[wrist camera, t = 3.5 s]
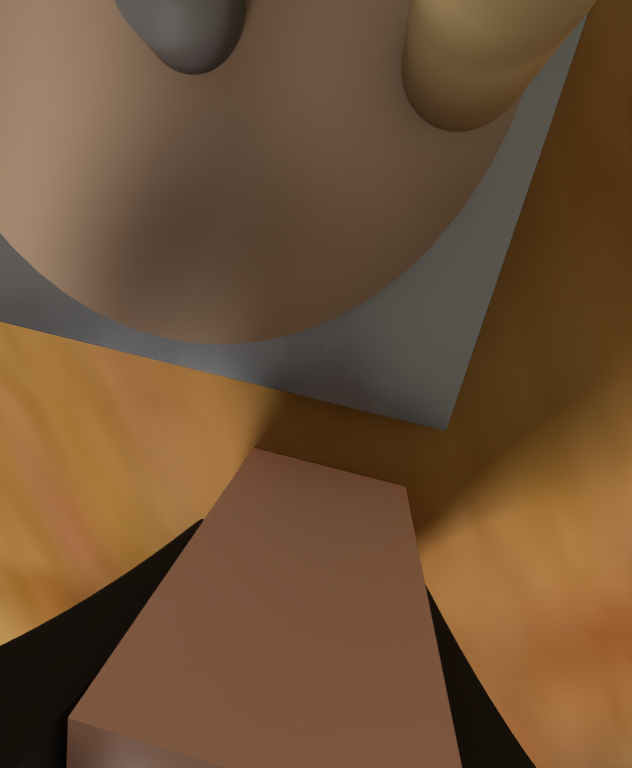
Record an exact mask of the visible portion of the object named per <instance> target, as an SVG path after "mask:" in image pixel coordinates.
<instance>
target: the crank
mask: <svg viewBox="0 0 632 768" xmlns="http://www.w3.org/2000/svg"><path fill="white" fill-rule="evenodd" d="M596 1H597V0H0V233H1V234H2V235H3V237H4V238H5V239H6V240H7V241H8V243H9V244H10V245H11V246H12V247H13V248H14V249H15V250H16V251H17V252H18V253H19V254H20V255H21V256H22V257H23V258H24V259H25V260H26V261H27V262H28V263H29V264H30V265H32V266H33V267H34V268H35V269H36V270H37V271H38V272H39V273H40V274H41V275H43V276H44V277H45V278H47V279H48V280H49V281H50V282H52V283H53V284H54V285H55V286H57V287H58V288H59V289H61V290H62V291H63V292H64V293H66V294H67V295H69V296H70V297H72V298H74V299H75V300H77V301H78V302H80V303H82V304H83V305H85V306H87V307H88V308H90V309H92V310H93V311H95V312H97V313H98V314H101V315H103V316H105V317H107V318H109V319H112V320H114V321H116V322H118V323H120V324H123V325H125V326H127V327H129V328H133V329H136V330H139V331H142V332H145V333H149V334H152V335H155V336H158V337H162V338H168V339H173V340H179V341H185V342H191V343H203V344H238V343H248V342H258V341H266V340H270V339H274V338H278V337H282V336H286V335H290V334H295V333H299V332H301V331H304V330H306V329H309V328H311V327H314V326H317V325H319V324H322V323H324V322H327V321H329V320H332V319H334V318H336V317H338V316H339V315H341V314H343V313H345V312H347V311H348V310H350V309H352V308H354V307H356V306H358V305H359V304H361V303H363V302H365V301H367V300H368V299H369V298H371V297H372V296H373V295H375V294H376V293H378V292H379V291H380V290H382V289H383V288H384V287H386V286H387V285H389V284H390V283H391V282H393V281H394V280H395V279H397V278H398V277H399V276H401V275H402V274H403V273H404V272H405V271H406V270H407V269H408V268H409V267H410V266H411V265H412V264H413V263H414V262H415V261H417V260H418V259H419V258H420V257H421V256H422V255H423V254H424V253H425V252H426V251H427V250H428V249H429V248H430V247H431V246H432V245H433V244H434V243H435V242H436V240H437V239H438V238H439V237H440V236H441V234H442V233H443V232H444V231H445V230H446V228H447V227H448V226H449V225H450V224H451V222H452V221H453V220H454V219H455V218H456V216H457V215H458V214H459V213H460V212H461V210H462V209H463V207H464V206H465V204H466V203H467V201H468V200H469V198H470V197H471V195H472V194H473V192H474V191H475V189H476V188H477V186H478V185H479V183H480V181H481V180H482V178H483V177H484V175H485V174H486V172H487V171H488V169H489V167H490V165H491V163H492V161H493V159H494V157H495V155H496V153H497V151H498V150H499V148H500V146H501V144H502V142H503V140H504V138H505V136H506V134H507V132H508V130H509V128H510V126H511V124H512V122H513V119H514V116H515V114H516V111H517V109H518V106H519V103H520V101H521V98H522V95H523V93H524V90H525V89H526V87H527V86H528V85H529V84H530V82H531V81H532V80H533V79H534V77H535V76H536V75H537V74H538V73H539V71H540V70H541V69H542V68H543V66H544V65H545V64H546V63H547V61H548V60H549V59H550V58H551V57H552V55H553V54H554V53H555V52H556V50H557V49H558V48H559V47H560V45H561V44H562V43H563V42H564V41H565V39H566V38H567V37H568V36H569V34H570V33H571V32H572V31H573V29H574V28H575V27H576V26H577V25H578V23H579V22H580V21H581V20H582V18H583V17H584V16H585V15H586V14H587V12H588V11H589V10H590V9H591V7H592V6H593V5H594V4H595V2H596Z"/></svg>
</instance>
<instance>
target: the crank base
mask: <svg viewBox="0 0 632 768" xmlns="http://www.w3.org/2000/svg"><path fill="white" fill-rule="evenodd" d="M588 13H589V11H588V12H587V14H586V15H585V16H584V17H583V18H582V20H581V21H580V22H579V23H578V25H577V26H576V27H575V28H574V29H573V31H572V32H571V33H570V34H569V36H568V37H567V38H566V39H565V41H564V42H563V43H562V44H561V45H560V47H559V48H558V49H557V50H556V52H555V53H554V54H553V55H552V57H551V58H550V59H549V60H548V61H547V63H546V64H545V65H544V66H543V68H542V69H541V70H540V71H539V73H538V74H537V75H536V76H535V77H534V79H533V80H532V81H531V82H530V84H529V85H528V86H527V87H526V89H525V90H524V93H523V95H522V98H521V101H520V103H519V106H518V109H517V111H516V114H515V116H514V119H513V122H512V124H511V126H510V128H509V130H508V132H507V134H506V136H505V138H504V140H503V142H502V144H501V146H500V148H499V150H498V151H497V153H496V155H495V157H494V159H493V161H492V163H491V165H490V167H489V169H488V171H487V172H486V174H485V175H484V177H483V178H482V180H481V181H480V183H479V185H478V186H477V188H476V189H475V191H474V192H473V194H472V195H471V197H470V198H469V200H468V201H467V203H466V204H465V206H464V207H463V209H462V210H461V212H460V213H459V214H458V215H457V216H456V218H455V219H454V220H453V221H452V222H451V224H450V225H449V226H448V227H447V228H446V230H445V231H444V232H443V233H442V234H441V236H440V237H439V238H438V239H437V240H436V242H435V243H434V244H433V245H432V246H431V247H430V248H429V249H428V250H427V251H426V252H425V253H424V254H423V255H422V256H421V257H420V258H419V259H418V260H417V261H415V262H414V263H413V264H412V265H411V266H410V267H409V268H408V269H407V270H406V271H405V272H404V273H403V274H402V275H401V276H399V277H398V278H397V279H395V280H394V281H393V282H391V283H390V284H389V285H387V286H386V287H384V288H383V289H382V290H380V291H379V292H378V293H376V294H375V295H373V296H372V297H371V298H369V299H368V300H367V301H365V302H363V303H361V304H359V305H358V306H356V307H354V308H352V309H350V310H348V311H347V312H345V313H343V314H341V315H339V316H338V317H336V318H334V319H332V320H329V321H327V322H324V323H322V324H319V325H317V326H314V327H311V328H309V329H306V330H304V331H301V332H299V333H295V334H290V335H286V336H282V337H278V338H274V339H270V340H266V341H258V342H248V343H238V344H203V343H191V342H185V341H179V340H173V339H168V338H162V337H158V336H155V335H152V334H149V333H145V332H142V331H139V330H136V329H133V328H129V327H127V326H125V325H123V324H120V323H118V322H116V321H114V320H112V319H109V318H107V317H105V316H103V315H101V314H98V313H97V312H95V311H93V310H92V309H90V308H88V307H87V306H85V305H83V304H82V303H80V302H78V301H77V300H75V299H74V298H72V297H70V296H69V295H67V294H66V293H64V292H63V291H62V290H61V289H59V288H58V287H57V286H55V285H54V284H53V283H52V282H50V281H49V280H48V279H47V278H45V277H44V276H43V275H41V274H40V273H39V272H38V271H37V270H36V269H35V268H34V267H33V266H32V265H30V264H29V263H28V262H27V261H26V260H25V259H24V258H23V257H22V256H21V255H20V254H19V253H18V252H17V251H16V250H15V249H14V248H13V247H12V246H11V245H10V244H9V243H8V241H7V240H6V239H5V238H4V237H3V235H2V234H1V233H0V322H4V323H8V324H12V325H16V326H20V327H24V328H28V329H32V330H37V331H41V332H45V333H49V334H53V335H57V336H61V337H65V338H69V339H73V340H77V341H81V342H85V343H89V344H94V345H98V346H102V347H106V348H110V349H114V350H118V351H122V352H126V353H130V354H134V355H138V356H142V357H146V358H150V359H155V360H159V361H163V362H167V363H171V364H175V365H179V366H183V367H187V368H191V369H195V370H199V371H203V372H207V373H212V374H216V375H220V376H224V377H228V378H232V379H236V380H240V381H244V382H248V383H252V384H256V385H260V386H264V387H269V388H273V389H277V390H281V391H285V392H289V393H293V394H297V395H301V396H305V397H309V398H313V399H317V400H321V401H326V402H330V403H334V404H338V405H342V406H346V407H350V408H354V409H358V410H362V411H366V412H370V413H374V414H378V415H383V416H387V417H391V418H395V419H399V420H403V421H407V422H411V423H415V424H419V425H423V426H427V427H431V428H435V429H440V430H444V431H446V429H447V426H448V424H449V421H450V418H451V415H452V412H453V409H454V406H455V403H456V400H457V397H458V394H459V391H460V388H461V385H462V382H463V379H464V377H465V374H466V371H467V368H468V365H469V362H470V359H471V356H472V353H473V350H474V347H475V344H476V341H477V338H478V335H479V333H480V330H481V327H482V324H483V321H484V318H485V315H486V312H487V309H488V306H489V303H490V300H491V297H492V294H493V291H494V288H495V286H496V283H497V280H498V277H499V274H500V271H501V268H502V265H503V262H504V259H505V256H506V253H507V250H508V247H509V244H510V242H511V239H512V236H513V233H514V230H515V227H516V224H517V221H518V218H519V215H520V212H521V209H522V206H523V203H524V200H525V197H526V195H527V192H528V189H529V186H530V183H531V180H532V177H533V174H534V171H535V168H536V165H537V162H538V159H539V156H540V153H541V151H542V148H543V145H544V142H545V139H546V136H547V133H548V130H549V127H550V124H551V121H552V118H553V115H554V112H555V109H556V107H557V104H558V101H559V98H560V95H561V92H562V89H563V86H564V83H565V80H566V77H567V74H568V71H569V68H570V65H571V62H572V60H573V57H574V54H575V51H576V48H577V45H578V42H579V39H580V36H581V33H582V30H583V27H584V24H585V21H586V18H587V16H588Z"/></svg>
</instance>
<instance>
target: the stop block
mask: <svg viewBox="0 0 632 768" xmlns="http://www.w3.org/2000/svg"><path fill="white" fill-rule="evenodd" d="M67 768H462V765H461V760H460V755H459V750H458V745H457V740H456V735H455V730H454V725H453V720H452V716H451V711H450V706H449V701H448V696H447V691H446V686H445V681H444V676H443V671H442V666H441V661H440V656H439V651H438V646H437V641H436V636H435V631H434V626H433V621H432V616H431V611H430V606H429V601H428V596H427V591H426V586H425V581H424V576H423V572H422V567H421V562H420V557H419V552H418V547H417V542H416V537H415V532H414V527H413V522H412V517H411V512H410V507H409V502H408V497H407V492H406V487H404V486H401V485H397V484H393V483H389V482H385V481H381V480H377V479H373V478H370V477H366V476H362V475H358V474H354V473H350V472H346V471H342V470H339V469H335V468H331V467H327V466H323V465H319V464H315V463H311V462H307V461H304V460H300V459H296V458H292V457H288V456H284V455H280V454H276V453H273V452H269V451H265V450H261V449H257V448H253V450H252V451H251V452H250V454H249V455H248V457H247V458H246V460H245V461H244V463H243V464H242V466H241V467H240V468H239V470H238V471H237V473H236V474H235V476H234V477H233V479H232V480H231V481H230V483H229V484H228V486H227V487H226V489H225V490H224V492H223V493H222V495H221V496H220V497H219V499H218V500H217V502H216V503H215V505H214V506H213V508H212V509H211V511H210V512H209V513H208V515H207V516H206V518H205V519H204V521H203V522H202V524H201V525H200V527H199V528H198V529H197V531H196V532H195V534H194V535H193V537H192V538H191V540H190V541H189V543H188V544H187V545H186V547H185V548H184V550H183V551H182V553H181V554H180V556H179V557H178V558H177V560H176V561H175V563H174V564H173V566H172V567H171V569H170V570H169V572H168V573H167V574H166V576H165V577H164V579H163V580H162V582H161V583H160V585H159V586H158V588H157V589H156V590H155V592H154V593H153V595H152V596H151V598H150V599H149V601H148V602H147V604H146V605H145V606H144V608H143V609H142V611H141V612H140V614H139V615H138V617H137V618H136V620H135V621H134V622H133V624H132V625H131V627H130V628H129V630H128V631H127V633H126V634H125V635H124V637H123V638H122V640H121V641H120V643H119V644H118V646H117V647H116V649H115V650H114V651H113V653H112V654H111V656H110V657H109V659H108V660H107V662H106V663H105V665H104V666H103V667H102V669H101V670H100V672H99V673H98V675H97V676H96V678H95V679H94V681H93V682H92V683H91V685H90V686H89V688H88V689H87V691H86V692H85V694H84V695H83V697H82V698H81V699H80V701H79V702H78V704H77V705H76V707H75V708H74V710H73V711H72V712H71V714H70V715H69V717H68V735H67Z"/></svg>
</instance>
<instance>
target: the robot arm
mask: <svg viewBox="0 0 632 768" xmlns="http://www.w3.org/2000/svg"><path fill="white" fill-rule="evenodd" d="M203 521H204V519H201V520H199V521H197V522H196V523H195V524H193V525H192V526H191V527H189V528H188V529H187V530H186V531H184V532H183V533H182V534H180V535H179V536H178V537H176V538H175V539H174V540H172V541H171V542H170V543H168V544H167V545H166V546H164V547H163V548H162V549H160V550H159V551H157V552H156V553H155V554H153V555H152V556H150V557H149V558H147V559H146V560H145V561H143V562H142V563H140V564H139V565H137V566H136V567H135V568H133V569H132V570H130V571H129V572H127V573H126V574H124V575H123V576H121V577H120V578H118V579H117V580H115V581H113V582H112V583H110V584H109V585H107V586H106V587H104V588H103V589H101V590H99V591H98V592H96V593H95V594H93V595H92V596H90V597H88V598H87V599H85V600H83V601H82V602H80V603H78V604H77V605H75V606H73V607H72V608H70V609H68V610H66V611H65V612H63V613H61V614H60V615H58V616H56V617H54V618H52V619H51V620H49V621H47V622H45V623H43V624H41V625H40V626H38V627H36V628H34V629H32V630H30V631H29V632H27V633H25V634H23V635H21V636H19V637H17V638H15V639H13V640H11V641H9V642H7V643H5V644H3V645H1V646H0V768H67V735H68V717H69V715H70V714H71V712H72V711H73V710H74V708H75V707H76V705H77V704H78V702H79V701H80V699H81V698H82V697H83V695H84V694H85V692H86V691H87V689H88V688H89V686H90V685H91V683H92V682H93V681H94V679H95V678H96V676H97V675H98V673H99V672H100V670H101V669H102V667H103V666H104V665H105V663H106V662H107V660H108V659H109V657H110V656H111V654H112V653H113V651H114V650H115V649H116V647H117V646H118V644H119V643H120V641H121V640H122V638H123V637H124V635H125V634H126V633H127V631H128V630H129V628H130V627H131V625H132V624H133V622H134V621H135V620H136V618H137V617H138V615H139V614H140V612H141V611H142V609H143V608H144V606H145V605H146V604H147V602H148V601H149V599H150V598H151V596H152V595H153V593H154V592H155V590H156V589H157V588H158V586H159V585H160V583H161V582H162V580H163V579H164V577H165V576H166V574H167V573H168V572H169V570H170V569H171V567H172V566H173V564H174V563H175V561H176V560H177V558H178V557H179V556H180V554H181V553H182V551H183V550H184V548H185V547H186V545H187V544H188V543H189V541H190V540H191V538H192V537H193V535H194V534H195V532H196V531H197V529H198V528H199V527H200V525H201V524H202V522H203ZM425 586H426V585H425ZM426 591H427V596H428V601H429V606H430V611H431V616H432V621H433V626H434V631H435V636H436V641H437V646H438V651H439V656H440V661H441V666H442V671H443V676H444V681H445V686H446V691H447V696H448V701H449V706H450V711H451V716H452V720H453V725H454V730H455V735H456V740H457V745H458V750H459V755H460V760H461V765H462V768H536V767H535V765H534V764H533V763H532V761H531V760H530V758H529V757H528V755H527V754H526V753H525V751H524V750H523V748H522V747H521V745H520V744H519V742H518V741H517V739H516V738H515V736H514V735H513V734H512V732H511V731H510V729H509V727H508V726H507V724H506V723H505V721H504V720H503V718H502V717H501V715H500V713H499V712H498V710H497V709H496V707H495V706H494V704H493V702H492V701H491V699H490V698H489V696H488V694H487V693H486V691H485V690H484V688H483V686H482V685H481V683H480V681H479V680H478V678H477V676H476V675H475V673H474V671H473V669H472V668H471V666H470V664H469V663H468V661H467V659H466V657H465V656H464V654H463V652H462V651H461V649H460V647H459V645H458V643H457V642H456V640H455V638H454V636H453V635H452V633H451V631H450V629H449V627H448V625H447V624H446V622H445V620H444V618H443V616H442V614H441V612H440V611H439V609H438V607H437V605H436V603H435V601H434V599H433V597H432V596H431V594H430V592H429V590H428V588H427V586H426Z"/></svg>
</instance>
